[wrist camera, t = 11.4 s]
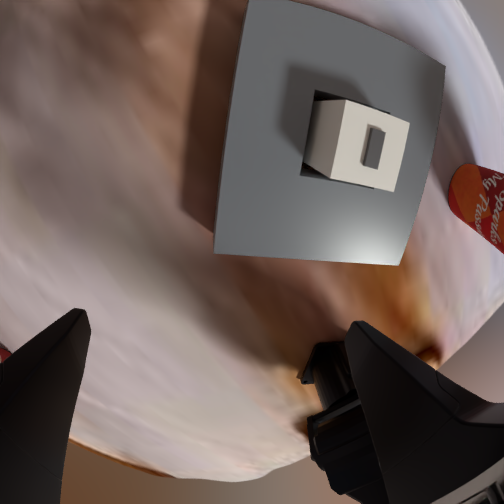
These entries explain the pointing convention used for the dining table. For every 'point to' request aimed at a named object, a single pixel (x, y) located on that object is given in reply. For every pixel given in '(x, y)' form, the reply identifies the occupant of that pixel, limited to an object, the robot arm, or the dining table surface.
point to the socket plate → (295, 134)
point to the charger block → (355, 143)
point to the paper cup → (479, 201)
